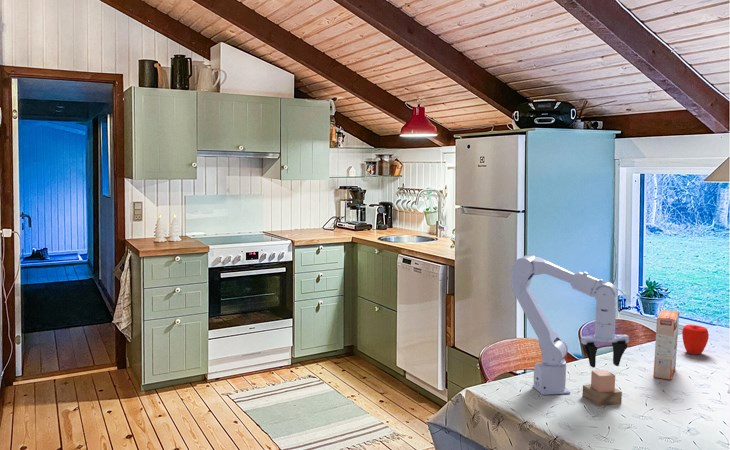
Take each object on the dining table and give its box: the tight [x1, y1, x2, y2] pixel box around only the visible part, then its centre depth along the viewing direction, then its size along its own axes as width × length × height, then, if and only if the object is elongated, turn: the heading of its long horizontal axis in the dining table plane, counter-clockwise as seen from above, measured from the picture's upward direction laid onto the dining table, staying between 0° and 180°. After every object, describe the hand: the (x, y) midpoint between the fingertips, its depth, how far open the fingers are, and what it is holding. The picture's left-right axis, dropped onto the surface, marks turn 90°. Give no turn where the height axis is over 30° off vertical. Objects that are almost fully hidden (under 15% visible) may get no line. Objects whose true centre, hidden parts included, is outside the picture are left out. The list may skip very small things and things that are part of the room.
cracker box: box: [653, 309, 680, 381], centre depth 214 cm, size 14×6×21 cm, turn 148°
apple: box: [681, 324, 710, 355], centre depth 238 cm, size 9×9×11 cm
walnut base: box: [581, 383, 623, 407], centre depth 191 cm, size 8×8×4 cm
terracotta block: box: [590, 369, 616, 392], centre depth 190 cm, size 5×5×5 cm
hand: (604, 365), depth 191 cm, fingers open, 7 cm apart
